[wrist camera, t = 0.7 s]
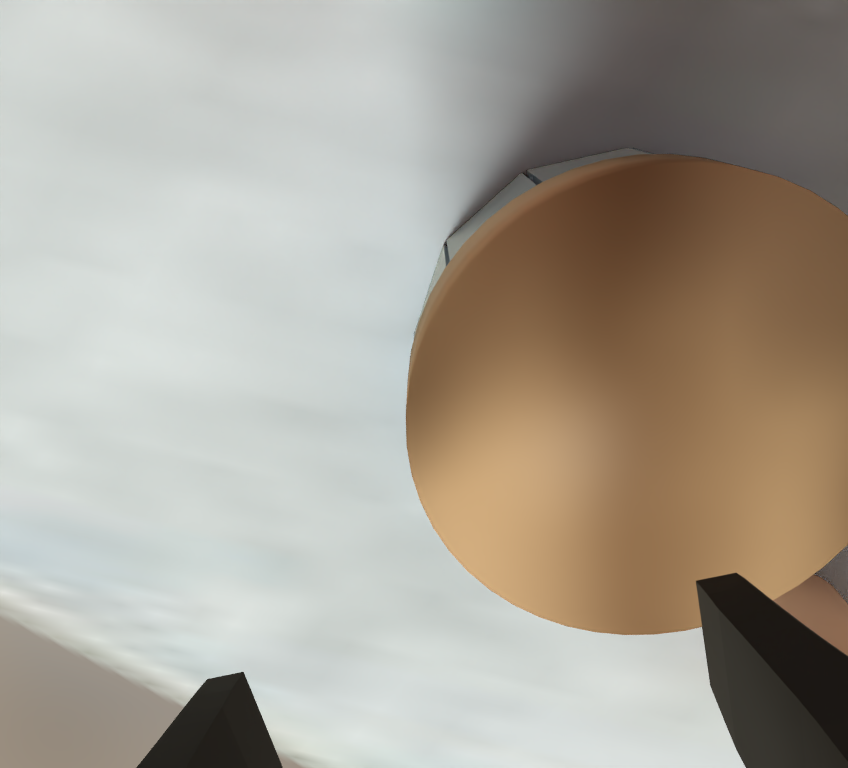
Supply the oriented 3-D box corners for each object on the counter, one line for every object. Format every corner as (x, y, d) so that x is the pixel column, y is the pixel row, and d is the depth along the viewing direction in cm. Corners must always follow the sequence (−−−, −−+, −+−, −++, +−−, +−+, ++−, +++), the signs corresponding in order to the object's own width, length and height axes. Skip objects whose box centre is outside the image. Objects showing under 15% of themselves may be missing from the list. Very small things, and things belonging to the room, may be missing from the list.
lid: (862, 102, 15) (925, 104, 13) (867, 539, 18) (918, 590, 16) (359, 213, 16) (351, 230, 14) (456, 613, 19) (460, 669, 17)
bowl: (778, 114, 18) (849, 119, 15) (796, 469, 21) (856, 532, 18) (382, 201, 19) (374, 223, 16) (458, 533, 22) (464, 602, 19)
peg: (843, 559, 22) (984, 715, 17) (846, 667, 24) (977, 845, 18) (705, 583, 23) (798, 745, 17) (716, 688, 24) (805, 871, 18)
